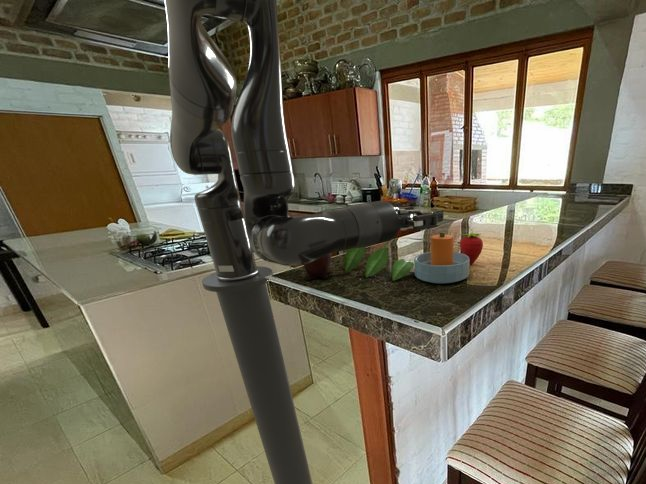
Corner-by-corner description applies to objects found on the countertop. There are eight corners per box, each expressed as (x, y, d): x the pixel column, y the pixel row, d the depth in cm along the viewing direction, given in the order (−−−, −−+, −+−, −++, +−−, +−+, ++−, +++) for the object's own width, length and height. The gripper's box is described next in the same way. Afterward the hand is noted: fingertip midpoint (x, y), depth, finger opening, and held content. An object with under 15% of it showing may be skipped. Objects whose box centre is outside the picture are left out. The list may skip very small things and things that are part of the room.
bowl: (403, 278, 80) (403, 260, 78) (435, 265, 89) (435, 248, 87) (448, 289, 73) (449, 269, 71) (478, 273, 82) (479, 256, 80)
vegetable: (426, 274, 80) (426, 232, 76) (439, 269, 84) (439, 229, 80) (444, 278, 77) (445, 235, 73) (456, 273, 81) (457, 231, 77)
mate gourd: (339, 275, 83) (331, 213, 77) (313, 284, 78) (301, 218, 71) (320, 270, 88) (311, 210, 81) (294, 278, 82) (282, 215, 76)
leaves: (400, 300, 83) (422, 262, 89) (400, 286, 77) (423, 246, 83) (337, 272, 86) (362, 237, 91) (333, 257, 80) (359, 221, 85)
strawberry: (461, 269, 86) (462, 230, 81) (457, 261, 92) (458, 224, 88) (484, 268, 86) (486, 229, 81) (478, 260, 92) (481, 223, 88)
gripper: (392, 206, 55) (453, 197, 65) (342, 200, 64) (403, 192, 74) (394, 251, 58) (452, 235, 69) (346, 239, 67) (404, 227, 78)
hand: (426, 213), depth 71 cm, fingers open, 8 cm apart
